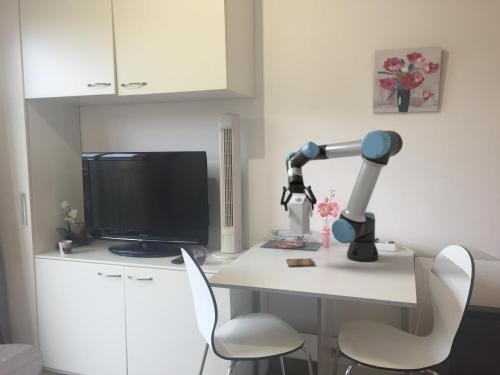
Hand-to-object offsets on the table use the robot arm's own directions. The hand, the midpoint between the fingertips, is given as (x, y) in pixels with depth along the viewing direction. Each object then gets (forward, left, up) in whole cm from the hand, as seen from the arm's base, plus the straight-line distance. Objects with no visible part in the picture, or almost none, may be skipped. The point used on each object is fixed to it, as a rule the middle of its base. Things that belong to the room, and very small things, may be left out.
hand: (300, 215), depth 194 cm
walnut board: (0, -3, -24) cm, 24 cm away
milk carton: (0, -3, -9) cm, 10 cm away
